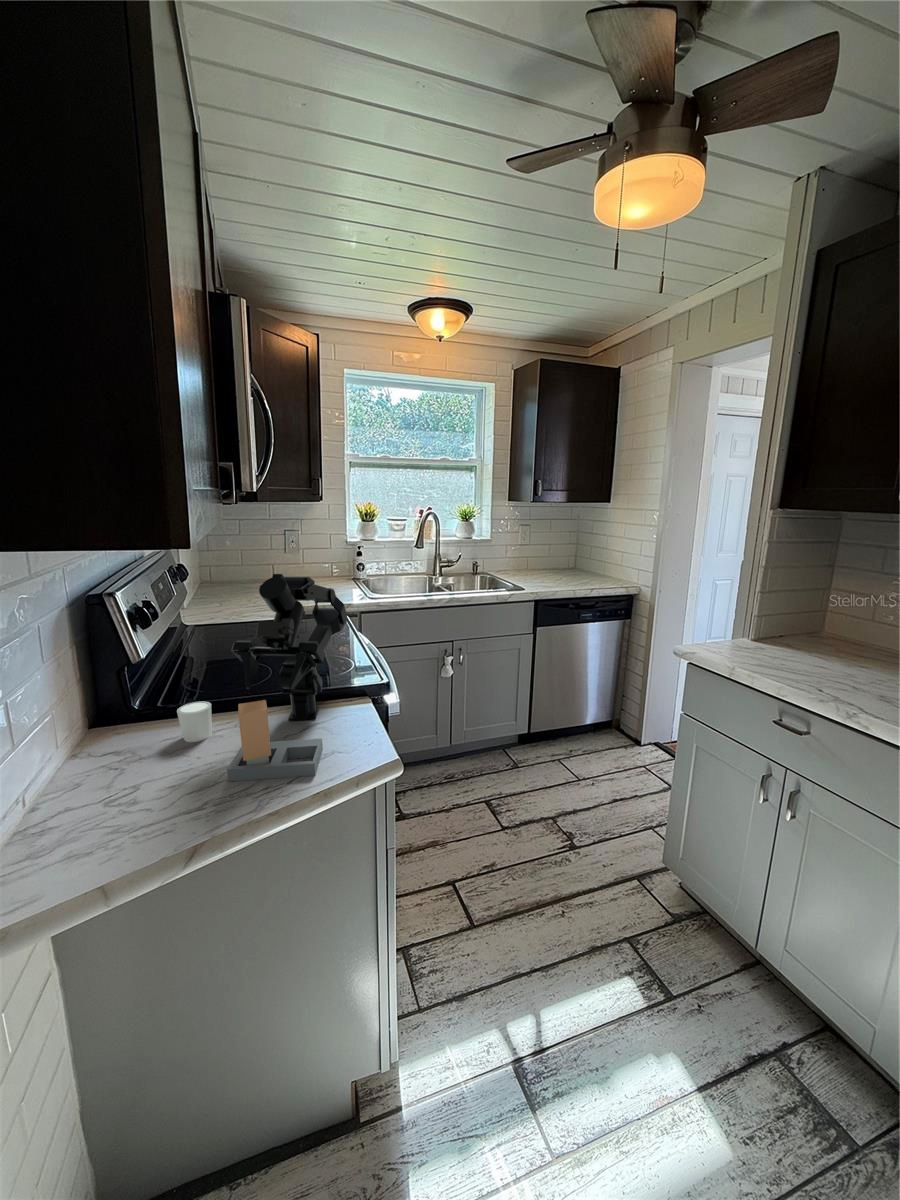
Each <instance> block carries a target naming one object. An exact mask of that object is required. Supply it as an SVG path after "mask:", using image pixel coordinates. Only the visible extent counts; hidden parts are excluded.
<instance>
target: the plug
mask: <svg viewBox="0 0 900 1200" xmlns="http://www.w3.org/2000/svg"><path fill="white" fill-rule="evenodd" d="M237 708H238V710H237V711H238V713H237V715H238V725H239V733H240V742H241V746H242V753H243V761H246V762H247V764H246V765H260V764H270V760H269V756H271V746H270V742H271V738H270V727H269V726H270V725H269V717H268V715H269V714H268V705H267V700H266V699H263V700H256V701H249V702H243V703H238V707H237Z"/></svg>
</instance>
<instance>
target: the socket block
mask: <svg viewBox="0 0 900 1200" xmlns="http://www.w3.org/2000/svg"><path fill="white" fill-rule="evenodd" d="M323 745H324V744H323V738H309V739H307V738H306V739H294V740H277V741H270V746H271V756H269V764H260V765H247V762H246V761H243V753H242V745H241V746H240V748H239V750H238V751H237V753H236V755H235V756H234V757H233V760H231V762H230V764H229V766H228V767H227V769H226V772H227V780H228V783H229V782H241V781H255V780H257V781H258V780H267V779H268V780H270V779H279V778H280V779H281V778H283V779H284V778H298V777H299V778H300V777H311V776H312V777H313V776H316V774H317V771H318V767H319V764H320V761H321V757H322V753H323V749H324V746H323ZM305 758H313V759H312V760H308V761H306V760H305V761H293V762H288V761H289V760H291V759H305Z"/></svg>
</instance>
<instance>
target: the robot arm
mask: <svg viewBox="0 0 900 1200" xmlns="http://www.w3.org/2000/svg"><path fill="white" fill-rule="evenodd" d="M258 592H259V595H260V597H262V600H263V601H264V602H265V603H266V605H267V607H269V609H270V610H271V611H272V612H273V613H275V614H274V619H273V620H270V621H269V620H268V621H264V620H263V621H262V620H261V621H257V625H256V632H255V637H256V638H262V639H261V642H262V643H263V644H266V645H265V646H258V645H257V644H256V642H254V641H253V640H241V639H238V640H236V641H234V643H233V644H232V647H231V650H230V652H231V653H232V654H233V655H235V657H236V658H237V659H238V661H240V662H242V664H243V669H244V680H245V681H244V682H245V688H246V689H247V690H250V689H251V688H252V685H253V683H254V681H255V678H256V676H257V673H258V669H259V667H260V663H259V661H260V660H261V657H263V656H264V657H265V656H266V657H274V656H275V657H286V659H285V661H284V662H283V663H282V664H281V665H282V666H281V668H280V670H279V671H278V674H277V683H278V685H279V689H280V692H281V694H282V695H285V694H286V695H289V697H290V705H291V708H290V709H291V712H290V714H289V716H288V717H287V718H288V719H287V720H288V721H303V720H305V721H306V720H316V719H317V716H318V713H319V710H320V706H316V705H317V704H316V695H317V694H319V693H322V692H323V682H324V681H323V677H321V676H320V674H319V673H318V671H317V666H318V665H320V664H321V665H322V664H324V661H325V660H324V659H325V655H326V654H325V652H324V651H325V649H326V648H327V645H328V643H329V641H330V640H331V639H332V636H334V635H336V634H338V633H341V631H343V628H344V627H345V625H346V624H347V623H348V622H347V620H348V614H347V611H346V610H347V609H346V606H345V603H344V602H343V601H341V599H339V597H338V596H337V595H336V591H335V589H334V588H331V587H324V586H321V585H318V584H315V580H314V579H313V578H311V577H310V576H284V574H283V573H273V574H272V576H271V578H268V579H266V580H265V581H263V583H262V584H260V586H259V589H258ZM306 601H307V602H310V601H313V602H314V604H315V605H314V607H313V609H312V611H311V612H312V616H313V618H314V619H313V620H314V622H315V627H314V629H313V630H312V631H311V633H310V635H309V637H308V638H307V640H306V641H305V640H301V641H300V642H299V644H298V646H296V641H297V639H299V638H300V635H301V633H300V632H299V629H300V626H301V622H302V619H303V617H306V611H305V607H304V606H303V604H302V602H306ZM319 603H323V604H324V603H326V604H327V603H328V604H329V603H330V605H331V606H332V607H328V608H327V607H319V605H318V604H319Z"/></svg>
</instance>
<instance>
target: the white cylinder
mask: <svg viewBox="0 0 900 1200" xmlns="http://www.w3.org/2000/svg"><path fill="white" fill-rule="evenodd" d="M176 714H177V718H178V723H179V726H180V729H181V734H182V737H183V740H184V741H185V742H187V743H196V742H201V741H204V740H206V739H208V738H209V737H211V736H212V734H213V733H212V703H211V702H209V701H194V702H189V703H186V704H183V705H181V706H180V707H179V708H177V710H176Z"/></svg>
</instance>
